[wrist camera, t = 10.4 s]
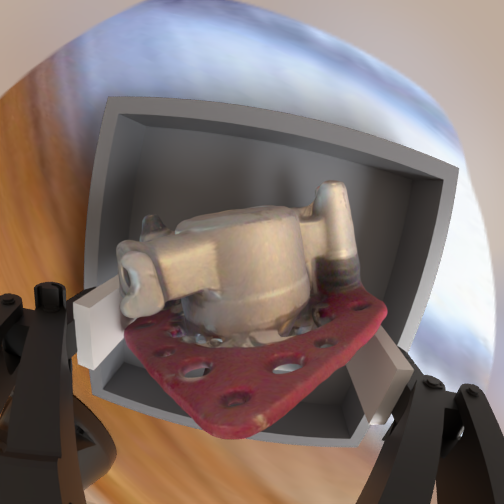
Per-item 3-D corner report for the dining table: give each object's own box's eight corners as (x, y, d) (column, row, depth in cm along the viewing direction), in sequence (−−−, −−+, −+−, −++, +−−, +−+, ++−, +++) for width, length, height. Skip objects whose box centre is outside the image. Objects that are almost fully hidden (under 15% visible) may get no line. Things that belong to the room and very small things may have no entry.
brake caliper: (177, 408, 16) (30, 418, 5) (175, 249, 21) (86, 126, 10) (363, 392, 15) (481, 395, 4) (335, 229, 20) (363, 77, 9)
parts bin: (118, 361, 22) (92, 394, 17) (142, 114, 18) (108, 96, 13) (345, 407, 22) (357, 447, 17) (419, 171, 18) (459, 168, 13)
